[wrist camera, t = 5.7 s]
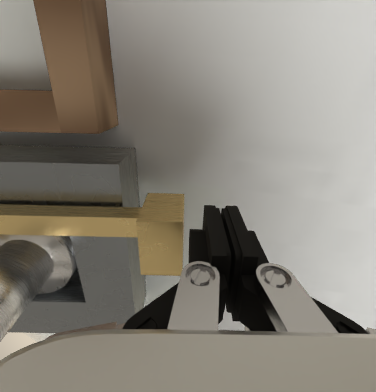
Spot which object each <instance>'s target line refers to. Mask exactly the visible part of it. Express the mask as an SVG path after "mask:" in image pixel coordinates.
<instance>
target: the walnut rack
mask: <svg viewBox="0 0 376 392" xmlns="http://www.w3.org/2000/svg"><path fill="white" fill-rule="evenodd" d="M33 1H34V6H35V11H36V16H37V21H38V25H39V30H40V35H41V40H42V44H43V49H44V54H45V59H46V64H47V68H48V73H49V78H50V83H51V87H52V91H40V90H0V131H4V132H46V133H87V134H100V133H102V132H104V131H107V130H109V129H111V128H113V127H116V126H118V117H117V108H116V98H115V88H114V79H113V69H112V59H111V50H110V40H109V30H108V21H107V11H106V1H105V0H33Z"/></svg>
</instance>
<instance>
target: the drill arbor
mask: <svg viewBox="0 0 376 392" xmlns="http://www.w3.org/2000/svg"><path fill="white" fill-rule="evenodd" d="M76 269H77V263H76V259H75V255H74V250H73V246H72V242H71V238H70V236H49V235H3V234H0V342H1V340H2V339H3V337H4V336H5V335H6V334H7V332H8V331H9V330H10V328H11V327H12V326H13V325H14V323H15V322H16V321H17V319H18V318H19V317H20V315H21V314H22V313H23V311H24V310H25V309H26V307H27V306H28V305H29V304H30V302H31V301H32V300H33V298H34V297H35V296H36V294H45V293H51V292H54V291H57V290H59V289H61V288H62V287H64V286H65V285H66V284H67V283H68V281H69V280H70V278H71V276H72V275H73V273H74V272H75V270H76Z"/></svg>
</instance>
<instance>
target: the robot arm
mask: <svg viewBox="0 0 376 392" xmlns="http://www.w3.org/2000/svg"><path fill="white" fill-rule="evenodd" d="M225 303H226V309H227V312H228V313H231V314H232V319H233V321H240V322H241V323H242V324H244V325H245V331H229V330H218V324H219V323H220V322H221V321H222V320H223V312H224V309H225ZM0 392H376V329H372V328H367V329H366V331H365V330H364V329H363V328H362V327H361V326H360V325H358V324H357V323H355V322H354V321H352V320H350V319H349V318H347V317H345V316H343V315H342V314H340V313H338V312H336V311H335V310H333V309H331V308H329V307H328V306H326V305H324V304H322V303H321V302H319V301H317V300H315V299H314V298H312V297H310V296H309V294H308V293H307V292H306V290H305V289H304V288H303V287H302V285H301V284H300V283H299V281H298V280H297V279H296V278H295V276H294V275H293V274H292V273H291V272H290V271H289V270H288V269H286V268H285V267H283V266H280V265H278V264H273V263H269V262H268V260H267V258H266V255H265V253H264V251H263V249H262V247H261V245H260V243H259V241H258V239H257V236H256V234H255V232H254V231H248V230H247V228H246V226H245V223H244V221H243V219H242V216H241V214H240V212H239V209H238V207H237V206H226V207H225V209H223V208H222V211H221V213H220V210H219V208H216V207H215V206H213V205H205V206H204V217H203V230H199V229H190V234H189V264H187V265H186V266H185V267H184V268H183V270H182V272H181V276H180V280H179V283H178V284H176V285H175V286H173V287H172V288H171V289H169V290H168V291H166V292H165V293H164V294H162V295H161V296H159V297H158V298H157V299H155V300H154V301H152V302H151V303H150V304H148V305H147V306H145V307H144V308H143V309H141V310H140V311H138V312H137V313H136V314H134V315H133V316H132V317H131V318H130V319H128V320H127V322H126V323H124V324H118V325H117V321H116V322H111V323H106V324H101V325H95V326H90V327H85V328H80V329H75V330H69V331H64V332H59V333H56V334H54V335H51V336H49V337H48V338H46V339H45V340H43V341H40V342H37V343H34V344H31V345H29V346H27V347H24V348H22V349H20V350H18V351H16V352H14V353H12V354H10V355H8V356H7V357H5V358H4V359H2V360H0Z"/></svg>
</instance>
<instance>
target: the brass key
mask: <svg viewBox="0 0 376 392" xmlns="http://www.w3.org/2000/svg"><path fill="white" fill-rule="evenodd" d="M0 234H3V235H49V236H96V237H138V248H139V259H140V271H141V275H173V276H181V272H182V267H183V241H184V194H165V193H148V194H147V197H146V199H145V202H144V204H143V206H142V207H99V206H54V205H9V204H0Z"/></svg>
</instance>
